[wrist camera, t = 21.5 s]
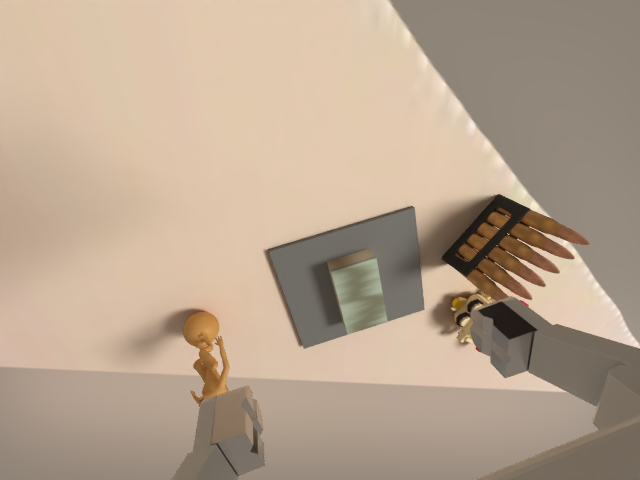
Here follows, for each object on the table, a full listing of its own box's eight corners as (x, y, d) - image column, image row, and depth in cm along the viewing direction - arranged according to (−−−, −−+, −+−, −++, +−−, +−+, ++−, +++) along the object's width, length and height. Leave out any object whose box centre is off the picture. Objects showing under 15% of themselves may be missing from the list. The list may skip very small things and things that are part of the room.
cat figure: (557, 318, 53) (473, 271, 42) (611, 357, 45) (526, 313, 34) (518, 358, 56) (429, 324, 45) (563, 401, 48) (469, 373, 37)
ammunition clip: (449, 264, 41) (516, 322, 31) (440, 258, 41) (506, 314, 30) (506, 201, 39) (601, 240, 28) (498, 193, 38) (593, 230, 27)
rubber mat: (303, 345, 43) (303, 348, 42) (268, 249, 35) (268, 251, 35) (422, 306, 44) (424, 309, 43) (412, 206, 36) (414, 207, 36)
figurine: (199, 287, 36) (174, 368, 25) (247, 301, 38) (243, 381, 27) (177, 339, 38) (146, 432, 27) (223, 349, 40) (212, 440, 30)
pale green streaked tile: (380, 309, 42) (369, 248, 37) (387, 321, 39) (376, 257, 35) (342, 321, 41) (326, 261, 37) (347, 334, 39) (331, 271, 34)
